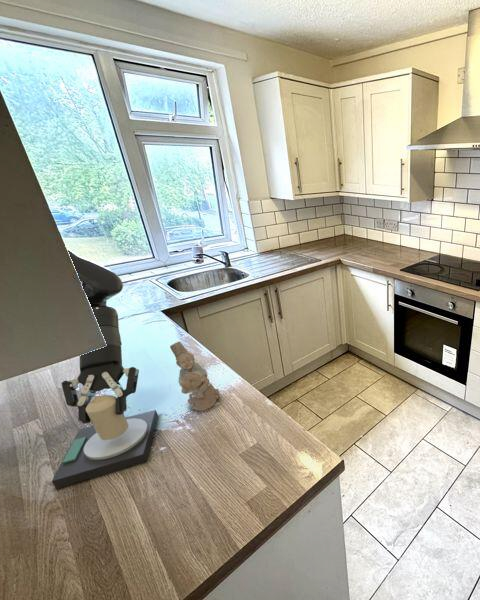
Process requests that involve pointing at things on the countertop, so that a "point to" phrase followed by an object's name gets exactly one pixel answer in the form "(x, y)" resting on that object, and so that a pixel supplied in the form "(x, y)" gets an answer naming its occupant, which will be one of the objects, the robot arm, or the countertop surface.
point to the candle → (106, 417)
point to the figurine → (194, 379)
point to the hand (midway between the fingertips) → (103, 418)
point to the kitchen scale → (106, 451)
